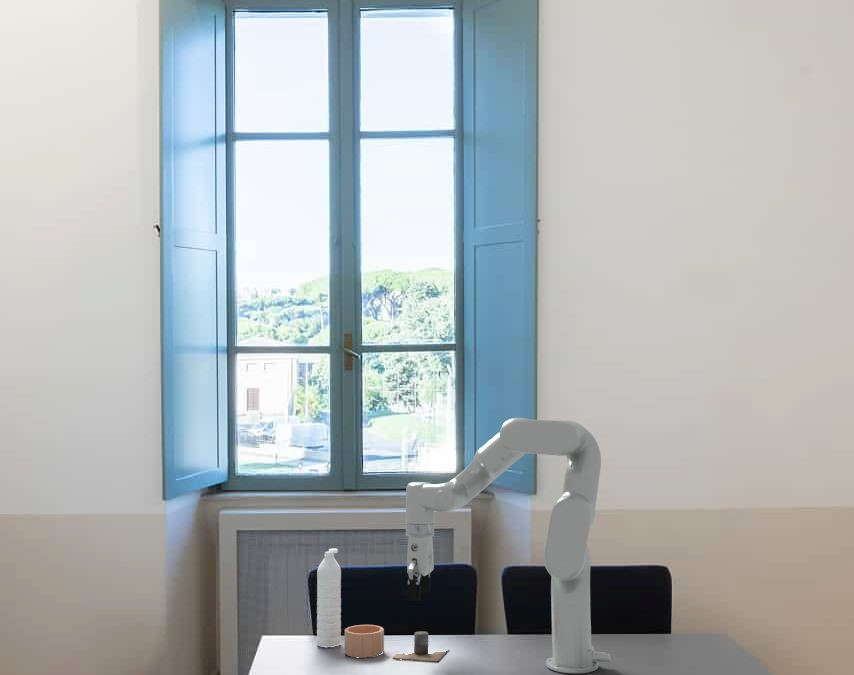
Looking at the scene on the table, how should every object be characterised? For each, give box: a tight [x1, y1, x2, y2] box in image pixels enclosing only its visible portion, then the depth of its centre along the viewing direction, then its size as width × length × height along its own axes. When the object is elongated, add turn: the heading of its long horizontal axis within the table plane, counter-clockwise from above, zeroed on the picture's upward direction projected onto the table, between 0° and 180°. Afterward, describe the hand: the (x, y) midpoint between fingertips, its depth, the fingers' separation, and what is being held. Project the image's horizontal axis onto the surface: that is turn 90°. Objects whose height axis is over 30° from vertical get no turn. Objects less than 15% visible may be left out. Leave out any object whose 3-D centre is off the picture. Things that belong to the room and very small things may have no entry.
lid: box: [391, 630, 447, 664], centre depth 218 cm, size 12×12×6 cm
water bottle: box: [316, 548, 342, 646], centre depth 230 cm, size 9×6×25 cm
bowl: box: [344, 624, 385, 659], centre depth 220 cm, size 10×10×6 cm
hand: (419, 596), depth 219 cm, fingers open, 9 cm apart
